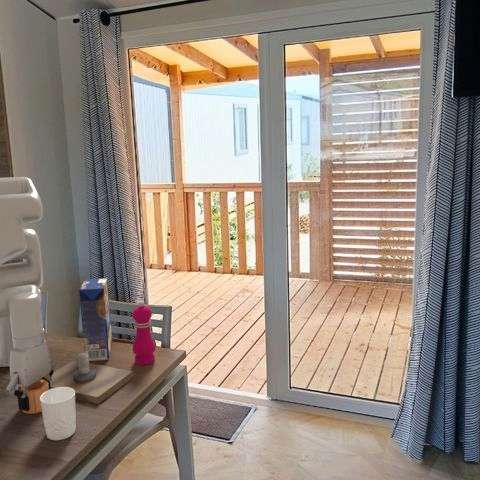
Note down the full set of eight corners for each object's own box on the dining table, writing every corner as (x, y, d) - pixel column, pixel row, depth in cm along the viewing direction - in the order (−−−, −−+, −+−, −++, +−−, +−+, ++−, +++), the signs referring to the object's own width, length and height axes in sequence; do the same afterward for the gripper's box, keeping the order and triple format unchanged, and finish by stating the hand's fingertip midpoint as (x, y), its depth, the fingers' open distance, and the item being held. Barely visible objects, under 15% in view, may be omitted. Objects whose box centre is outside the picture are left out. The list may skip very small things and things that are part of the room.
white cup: (49, 424, 122) (45, 387, 120) (81, 422, 123) (78, 385, 121) (39, 443, 114) (35, 404, 112) (73, 441, 115) (70, 402, 113)
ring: (15, 410, 129) (13, 389, 127) (35, 397, 135) (33, 377, 134) (36, 415, 126) (33, 394, 125) (55, 402, 132) (53, 382, 131)
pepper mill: (151, 366, 152) (147, 305, 149) (129, 365, 154) (125, 304, 150) (159, 356, 159) (156, 298, 155) (138, 355, 161) (135, 297, 157)
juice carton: (109, 359, 158) (103, 288, 154) (85, 361, 157) (79, 290, 152) (112, 344, 170) (107, 278, 165) (90, 346, 169) (84, 279, 164)
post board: (35, 389, 139) (32, 360, 138) (74, 366, 154) (71, 339, 152) (98, 403, 131) (95, 372, 129) (132, 377, 146) (131, 349, 144)
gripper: (42, 326, 136) (48, 385, 139) (-11, 351, 120) (-2, 416, 124) (63, 329, 133) (69, 389, 137) (12, 355, 117) (20, 422, 121)
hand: (35, 402), depth 130 cm, fingers closed on ring, 7 cm apart
